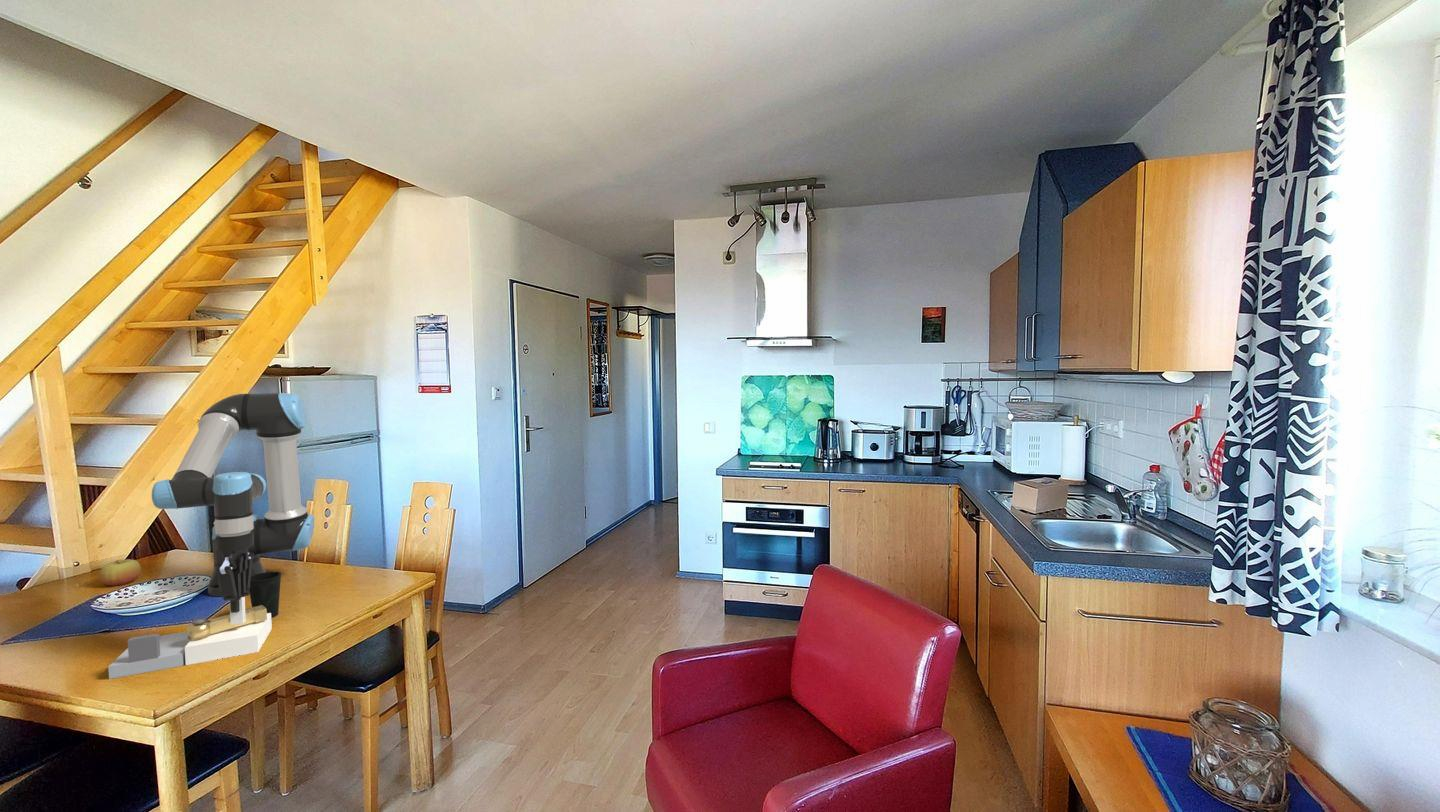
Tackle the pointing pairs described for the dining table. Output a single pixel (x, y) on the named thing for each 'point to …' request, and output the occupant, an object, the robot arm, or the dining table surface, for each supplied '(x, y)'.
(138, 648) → the doorframe
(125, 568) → the apple
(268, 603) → the cup
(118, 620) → the dining table surface
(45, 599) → the dining table surface
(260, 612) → the bar
